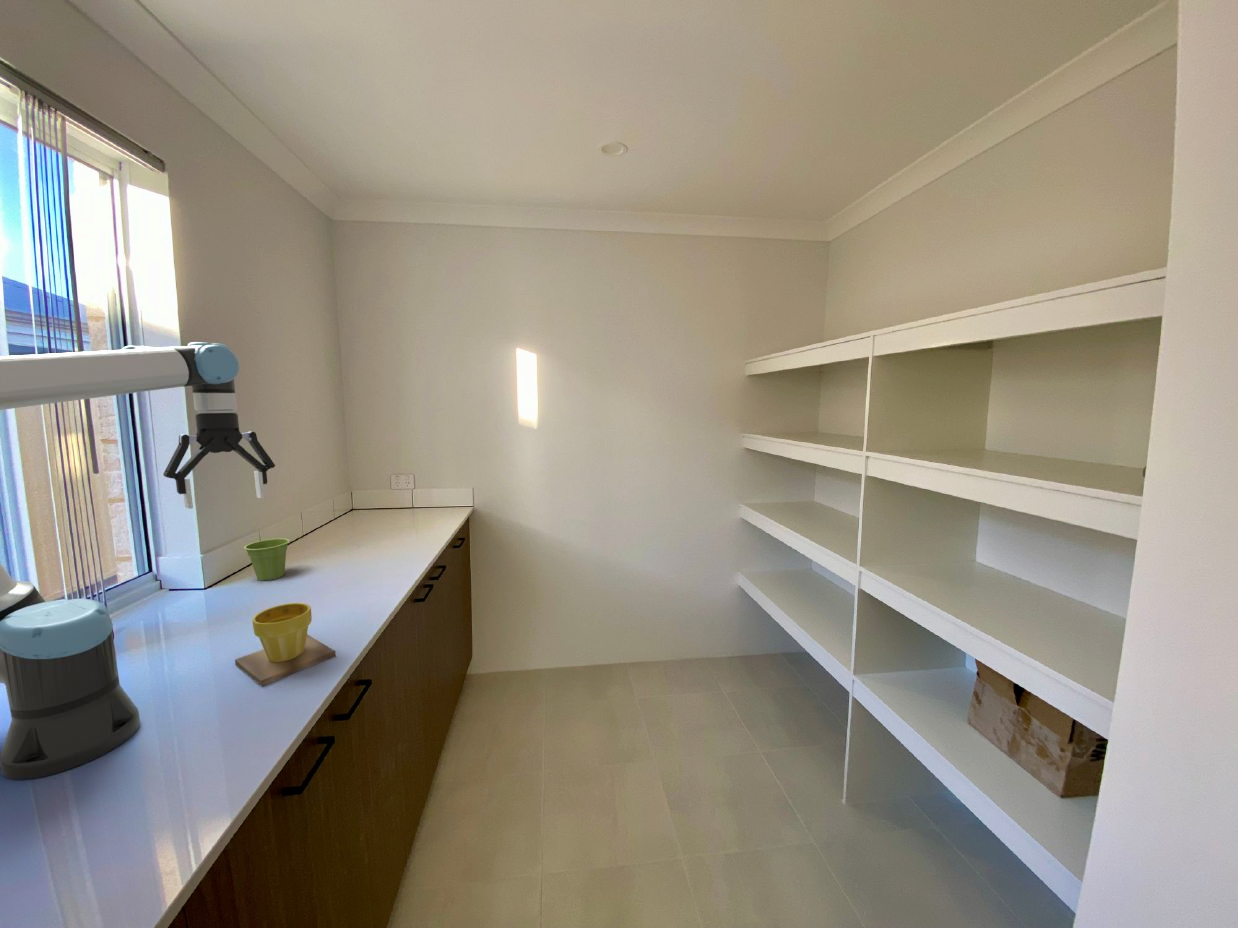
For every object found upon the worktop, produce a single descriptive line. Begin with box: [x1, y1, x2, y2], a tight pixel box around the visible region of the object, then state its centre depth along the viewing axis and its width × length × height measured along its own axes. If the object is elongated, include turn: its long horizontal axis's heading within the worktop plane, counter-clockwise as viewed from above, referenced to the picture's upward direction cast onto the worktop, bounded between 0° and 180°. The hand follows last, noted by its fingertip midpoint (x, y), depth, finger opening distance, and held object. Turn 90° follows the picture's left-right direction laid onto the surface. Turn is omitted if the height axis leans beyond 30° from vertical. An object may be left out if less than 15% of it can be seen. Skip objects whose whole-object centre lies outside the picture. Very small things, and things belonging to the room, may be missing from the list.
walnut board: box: [234, 633, 336, 687], centre depth 105 cm, size 14×14×1 cm
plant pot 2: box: [251, 602, 313, 662], centre depth 104 cm, size 10×10×10 cm
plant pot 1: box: [243, 537, 290, 582], centre depth 155 cm, size 12×12×11 cm
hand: (226, 502), depth 113 cm, fingers open, 13 cm apart
